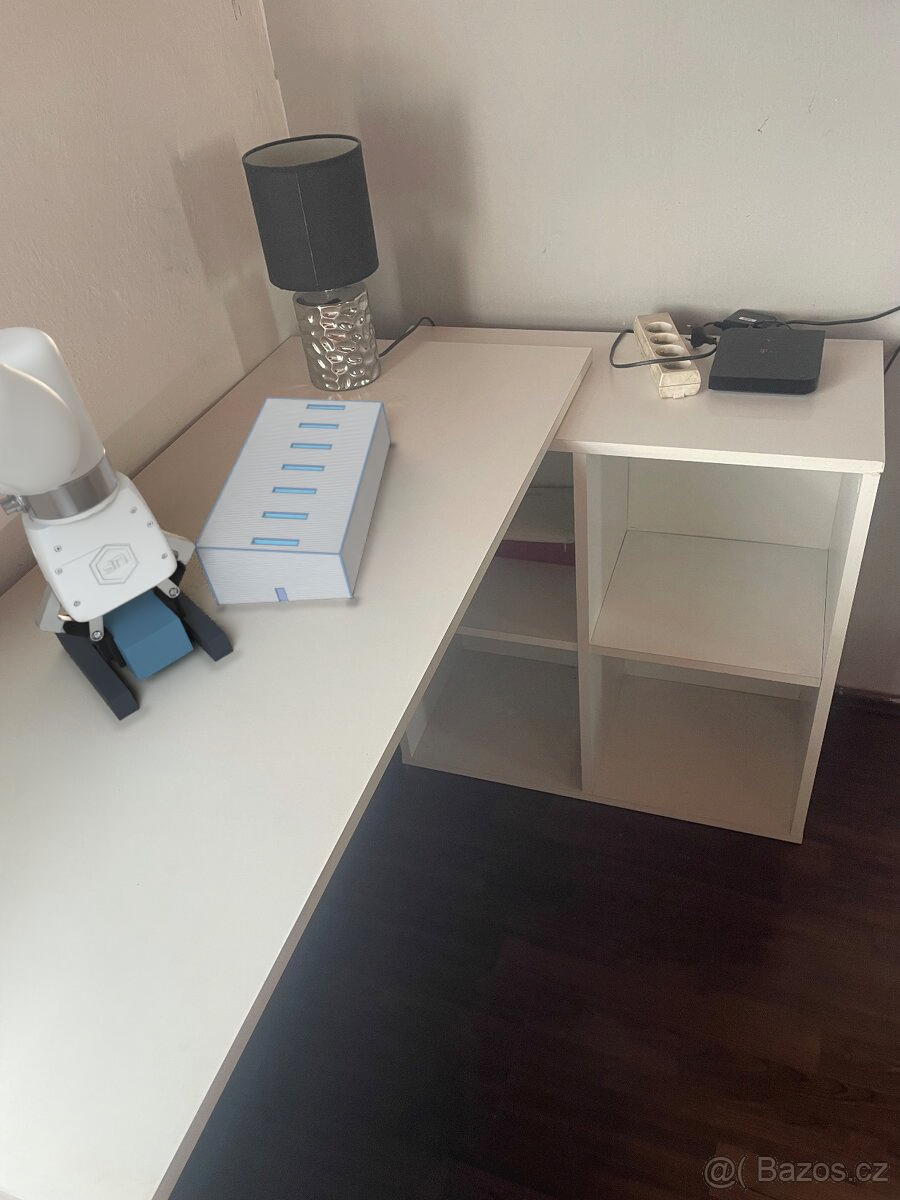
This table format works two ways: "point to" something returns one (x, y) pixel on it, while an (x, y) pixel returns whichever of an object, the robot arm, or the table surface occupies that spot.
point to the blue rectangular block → (147, 634)
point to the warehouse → (297, 503)
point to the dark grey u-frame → (106, 678)
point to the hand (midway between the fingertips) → (147, 641)
